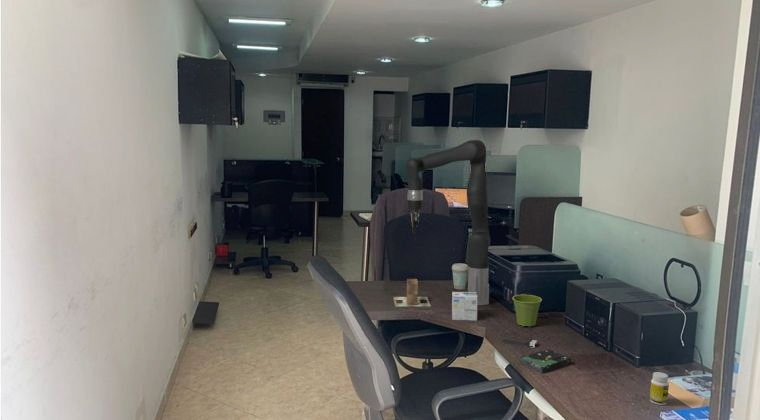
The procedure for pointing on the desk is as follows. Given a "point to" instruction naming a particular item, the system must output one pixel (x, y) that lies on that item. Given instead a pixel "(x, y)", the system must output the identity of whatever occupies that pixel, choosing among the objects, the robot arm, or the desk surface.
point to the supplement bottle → (659, 388)
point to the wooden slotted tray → (411, 305)
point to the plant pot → (526, 309)
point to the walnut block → (412, 291)
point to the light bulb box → (464, 306)
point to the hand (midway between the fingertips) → (414, 233)
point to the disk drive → (544, 361)
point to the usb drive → (519, 340)
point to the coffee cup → (460, 275)
